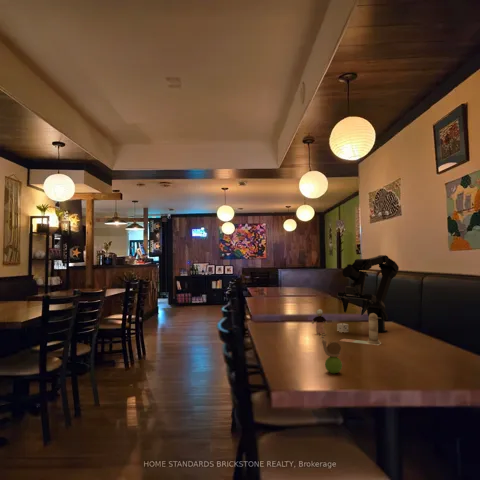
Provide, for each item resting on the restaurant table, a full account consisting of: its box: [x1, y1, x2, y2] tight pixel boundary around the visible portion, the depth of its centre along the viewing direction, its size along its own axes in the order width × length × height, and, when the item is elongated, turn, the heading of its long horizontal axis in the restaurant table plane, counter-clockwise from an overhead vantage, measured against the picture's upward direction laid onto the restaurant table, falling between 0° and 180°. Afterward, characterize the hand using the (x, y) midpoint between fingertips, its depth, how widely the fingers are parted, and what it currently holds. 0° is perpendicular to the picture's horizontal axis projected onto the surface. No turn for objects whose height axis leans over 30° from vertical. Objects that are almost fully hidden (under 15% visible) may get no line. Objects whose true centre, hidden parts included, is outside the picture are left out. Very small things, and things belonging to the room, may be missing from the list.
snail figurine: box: [321, 335, 343, 375], centre depth 126 cm, size 5×6×12 cm
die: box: [336, 322, 349, 333], centre depth 200 cm, size 4×4×4 cm
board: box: [339, 338, 382, 346], centre depth 172 cm, size 18×7×1 cm, turn 57°
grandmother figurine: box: [311, 309, 329, 336], centre depth 192 cm, size 8×4×13 cm, turn 84°
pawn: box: [366, 313, 381, 346], centre depth 169 cm, size 5×5×13 cm
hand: (353, 313), depth 188 cm, fingers open, 9 cm apart
